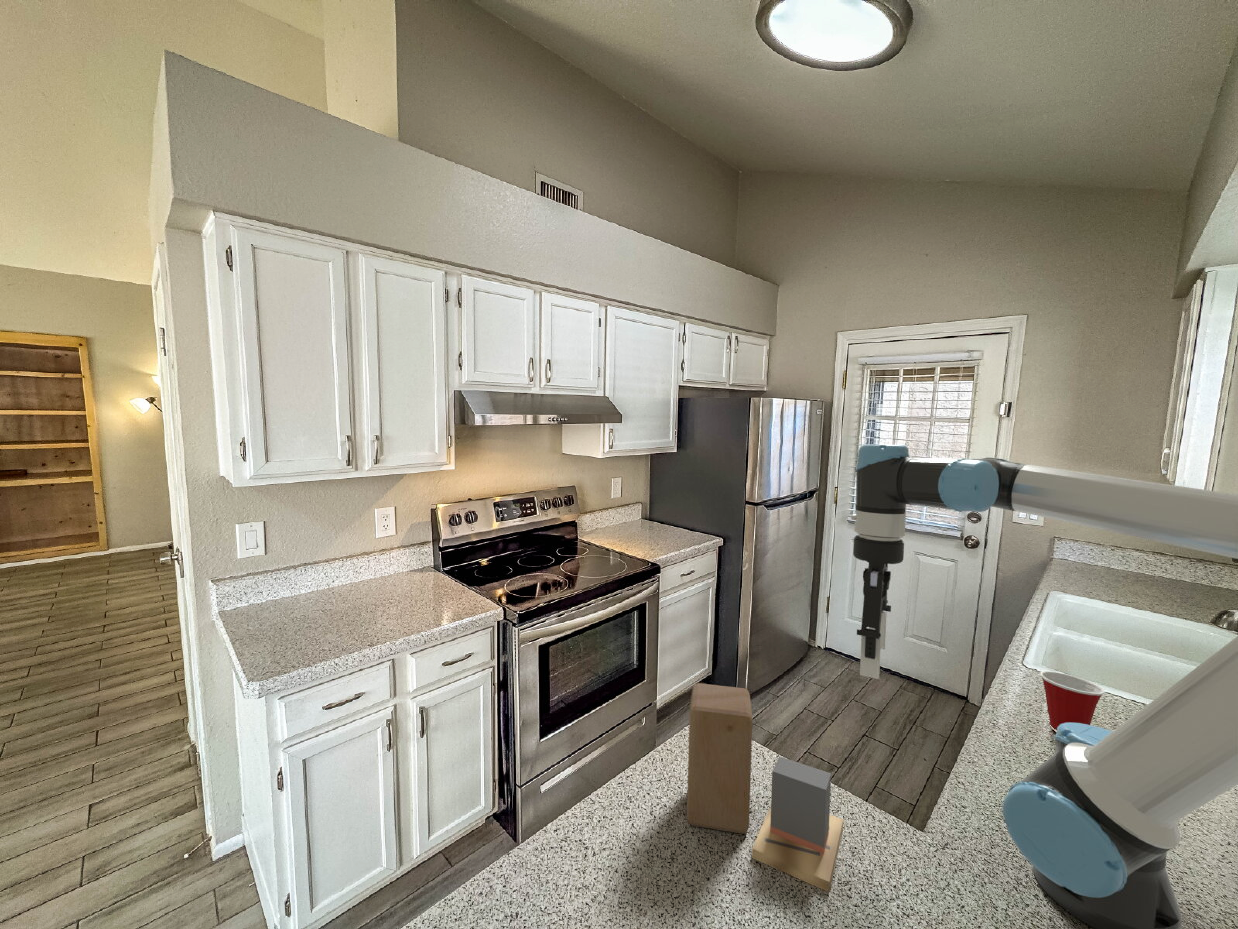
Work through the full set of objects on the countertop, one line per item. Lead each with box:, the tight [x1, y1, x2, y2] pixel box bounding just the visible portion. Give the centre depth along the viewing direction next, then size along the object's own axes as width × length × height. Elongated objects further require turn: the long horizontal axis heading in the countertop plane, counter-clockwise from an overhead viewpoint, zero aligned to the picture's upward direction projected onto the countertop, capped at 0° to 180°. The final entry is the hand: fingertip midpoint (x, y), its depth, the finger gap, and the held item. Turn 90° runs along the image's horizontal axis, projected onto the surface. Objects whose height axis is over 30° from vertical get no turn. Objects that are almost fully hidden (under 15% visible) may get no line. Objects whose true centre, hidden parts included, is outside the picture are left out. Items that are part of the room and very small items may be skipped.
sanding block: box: [770, 756, 832, 854], centre depth 80 cm, size 8×4×10 cm, turn 59°
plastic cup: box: [1039, 671, 1106, 730], centre depth 113 cm, size 11×11×12 cm
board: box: [751, 805, 844, 893], centre depth 81 cm, size 11×14×2 cm
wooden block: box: [686, 682, 753, 835], centre depth 87 cm, size 10×10×20 cm
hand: (873, 661), depth 86 cm, fingers open, 13 cm apart
